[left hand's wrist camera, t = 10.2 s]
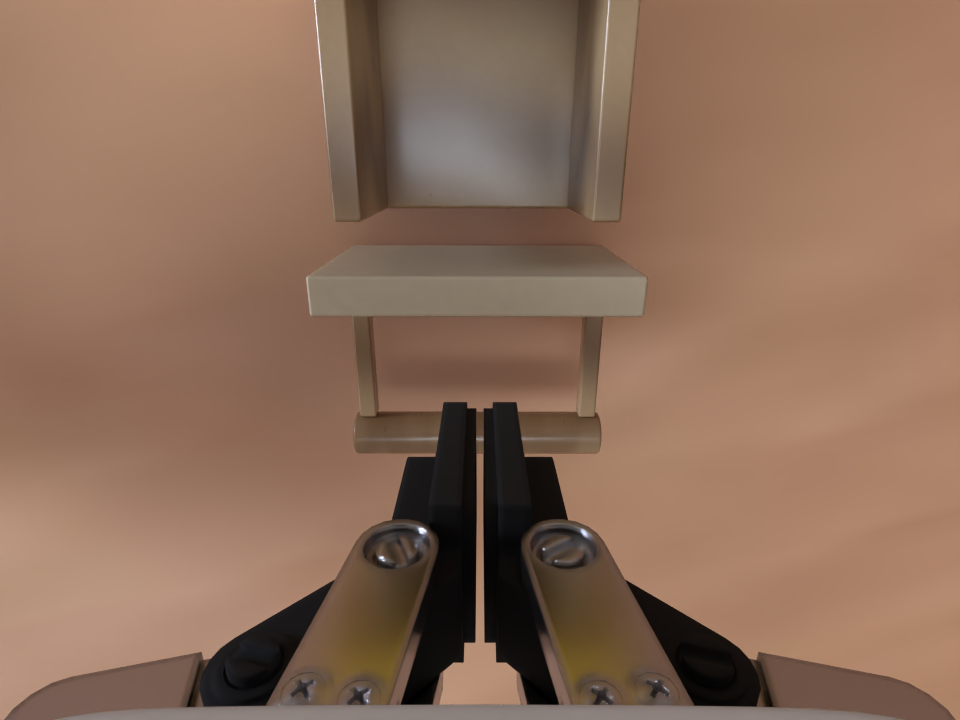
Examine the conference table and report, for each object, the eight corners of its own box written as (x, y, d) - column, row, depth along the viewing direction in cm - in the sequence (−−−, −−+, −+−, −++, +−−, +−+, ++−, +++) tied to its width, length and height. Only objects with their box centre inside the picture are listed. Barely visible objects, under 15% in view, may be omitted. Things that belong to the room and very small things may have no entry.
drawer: (589, 411, 23) (625, 492, 18) (366, 411, 23) (329, 492, 18) (648, -313, 15) (747, -593, 10) (308, -314, 15) (206, -593, 10)
